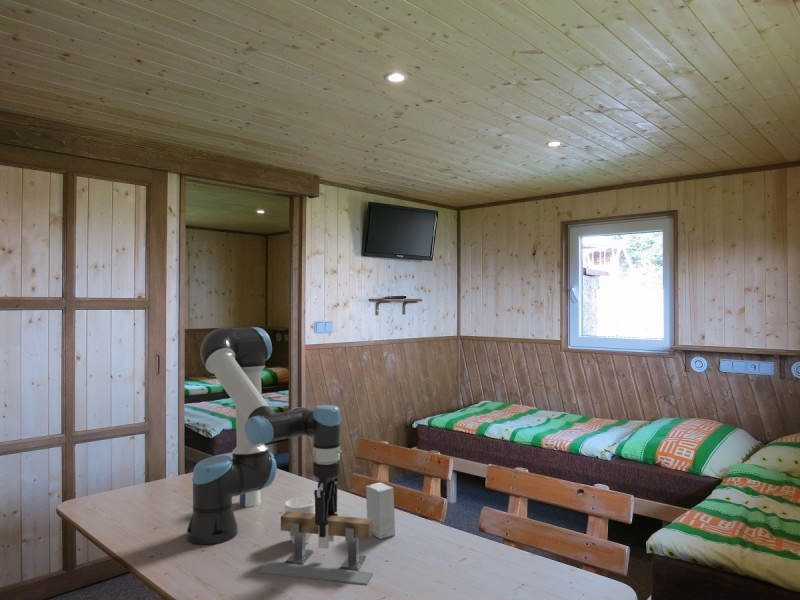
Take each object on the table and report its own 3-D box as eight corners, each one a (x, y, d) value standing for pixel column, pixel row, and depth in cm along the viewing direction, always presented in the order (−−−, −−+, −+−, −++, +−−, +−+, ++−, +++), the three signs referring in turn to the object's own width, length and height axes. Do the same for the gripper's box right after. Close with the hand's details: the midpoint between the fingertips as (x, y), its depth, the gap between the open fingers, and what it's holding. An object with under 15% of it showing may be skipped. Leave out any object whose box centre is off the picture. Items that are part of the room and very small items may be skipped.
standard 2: (340, 568, 155) (340, 528, 155) (349, 556, 163) (349, 517, 163) (358, 570, 154) (358, 530, 154) (366, 557, 162) (366, 519, 162)
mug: (303, 549, 167) (302, 508, 168) (279, 544, 172) (279, 504, 172) (326, 535, 178) (325, 496, 178) (304, 530, 182) (303, 493, 182)
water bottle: (267, 501, 208) (267, 433, 209) (249, 508, 201) (249, 438, 201) (251, 497, 213) (251, 430, 213) (233, 504, 205) (233, 435, 206)
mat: (259, 572, 153) (259, 571, 153) (269, 562, 159) (269, 561, 159) (366, 584, 146) (366, 583, 146) (373, 574, 152) (373, 572, 152)
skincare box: (395, 535, 178) (395, 488, 178) (379, 540, 174) (379, 491, 175) (381, 526, 185) (381, 481, 185) (365, 530, 182) (365, 484, 182)
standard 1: (285, 562, 159) (286, 523, 159) (297, 550, 167) (297, 513, 167) (302, 564, 158) (302, 524, 158) (313, 552, 165) (313, 514, 166)
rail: (280, 530, 161) (280, 516, 161) (286, 525, 165) (286, 511, 165) (368, 538, 156) (368, 524, 156) (372, 533, 160) (372, 518, 160)
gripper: (329, 470, 152) (328, 558, 151) (348, 454, 168) (348, 533, 168) (302, 468, 153) (302, 555, 153) (324, 452, 170) (324, 531, 170)
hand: (326, 543), depth 160 cm, fingers closed on rail, 4 cm apart
